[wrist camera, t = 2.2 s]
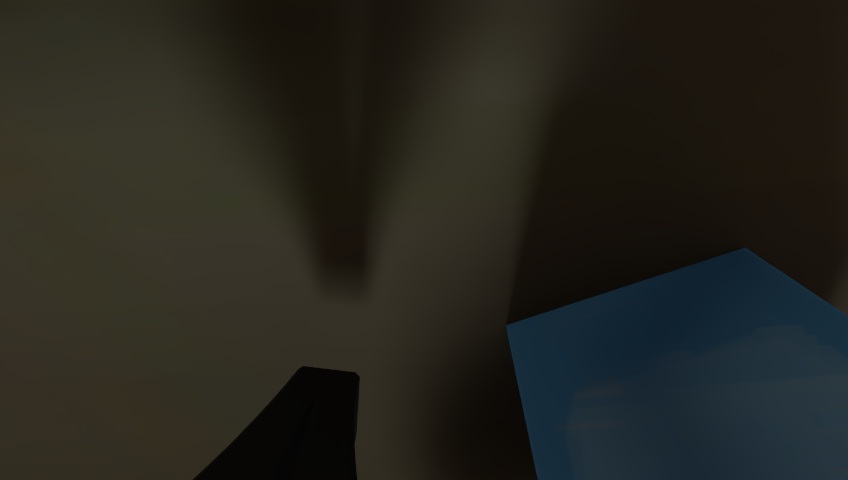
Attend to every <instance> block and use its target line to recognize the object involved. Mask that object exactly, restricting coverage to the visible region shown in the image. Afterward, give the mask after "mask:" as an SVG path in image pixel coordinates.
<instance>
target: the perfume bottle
mask: <svg viewBox="0 0 848 480" xmlns="http://www.w3.org/2000/svg"><path fill="white" fill-rule="evenodd" d="M506 329H507V334H508V339H509V344H510V349H511V353H512V358H513V363H514V368H515V373H516V377H517V382H518V387H519V392H520V397H521V401H522V406H523V411H524V416H525V421H526V425H527V430H528V435H529V440H530V445H531V450H532V454H533V459H534V464H535V469H536V474H537V478H538V480H848V316H847V315H845V314H844V313H842V312H841V311H839V310H838V309H836V308H835V307H833V306H832V305H830V304H829V303H827V302H826V301H824V300H823V299H821V298H820V297H818V296H817V295H815V294H814V293H812V292H811V291H809V290H808V289H806V288H805V287H803V286H802V285H800V284H799V283H797V282H796V281H794V280H793V279H791V278H790V277H788V276H787V275H785V274H784V273H782V272H781V271H779V270H778V269H776V268H775V267H773V266H772V265H770V264H769V263H767V262H766V261H764V260H763V259H761V258H760V257H758V256H757V255H755V254H754V253H752V252H751V251H749V250H748V249H746V248H741V249H738V250H735V251H732V252H729V253H726V254H723V255H720V256H717V257H714V258H711V259H708V260H705V261H702V262H699V263H696V264H692V265H689V266H686V267H683V268H680V269H677V270H674V271H671V272H668V273H665V274H662V275H659V276H656V277H653V278H650V279H646V280H643V281H640V282H637V283H634V284H631V285H628V286H625V287H622V288H619V289H616V290H613V291H610V292H607V293H604V294H600V295H597V296H594V297H591V298H588V299H585V300H582V301H579V302H576V303H573V304H570V305H567V306H564V307H561V308H558V309H554V310H551V311H548V312H545V313H542V314H539V315H536V316H533V317H530V318H527V319H524V320H521V321H518V322H515V323H512V324H508V325H506Z"/></svg>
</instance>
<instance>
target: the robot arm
mask: <svg viewBox="0 0 848 480" xmlns="http://www.w3.org/2000/svg"><path fill="white" fill-rule="evenodd" d="M359 381H360V377H359V376H358V375H357V374H356V373H355V372H347V371H339V370H331V369H322V368H314V367H306V366H302V367H301V368H299V369H298V370H297V371H296V373H295V374H294V375H293V376H292V377H291V379H290V380H289V381H288V382H287V383H286V385H285V386H284V387H283V388H282V389H281V390H280V392H279V393H278V394H277V395H276V396H275V397H274V398H273V399H272V401H271V402H270V403H269V404H268V405H267V406H266V407H265V408H264V409H263V411H262V412H261V413H260V414H259V415H258V416H257V417H256V418H255V419H254V420H253V421H252V422H251V423H250V424H249V425H248V426H247V427H246V428H245V429H244V430H243V431H242V433H241V434H240V435H239V436H238V437H237V438H236V439H235V440H234V441H233V442H232V443H231V444H230V445H229V446H228V447H227V448H226V449H225V450H224V451H223V452H221V453H220V454H219V455H218V456H217V457H216V458H215V459H214V460H213V461H212V462H211V463H210V464H209V465H208V466H207V467H206V468H205V469H204V470H203V471H202V472H201V473H199V474H198V475H197V476H196V477H195V478H194V479H193V480H357V474H356V463H355V446H354V444H355V438H356V432H357V415H358V398H359Z"/></svg>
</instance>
